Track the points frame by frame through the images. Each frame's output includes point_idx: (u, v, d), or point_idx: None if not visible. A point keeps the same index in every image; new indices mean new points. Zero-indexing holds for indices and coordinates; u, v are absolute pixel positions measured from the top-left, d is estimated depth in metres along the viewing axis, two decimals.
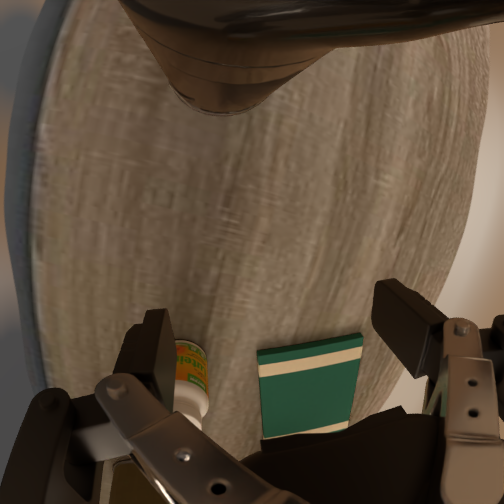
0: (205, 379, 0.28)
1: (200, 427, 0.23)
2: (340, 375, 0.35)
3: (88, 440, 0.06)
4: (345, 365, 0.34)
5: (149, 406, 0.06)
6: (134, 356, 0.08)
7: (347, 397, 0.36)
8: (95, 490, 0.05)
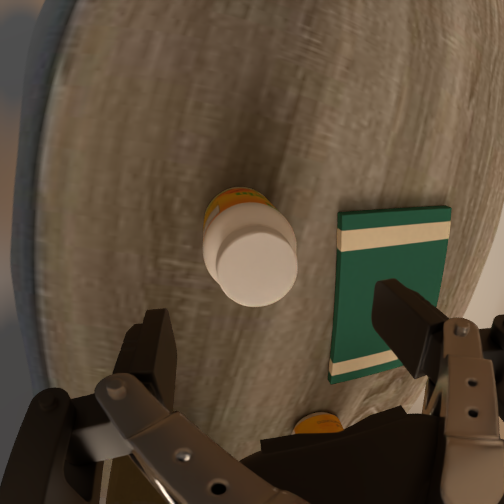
0: None
1: (296, 270, 0.16)
2: (428, 262, 0.27)
3: (88, 440, 0.06)
4: (434, 246, 0.27)
5: (149, 406, 0.06)
6: (134, 356, 0.08)
7: (432, 299, 0.29)
8: (94, 490, 0.05)
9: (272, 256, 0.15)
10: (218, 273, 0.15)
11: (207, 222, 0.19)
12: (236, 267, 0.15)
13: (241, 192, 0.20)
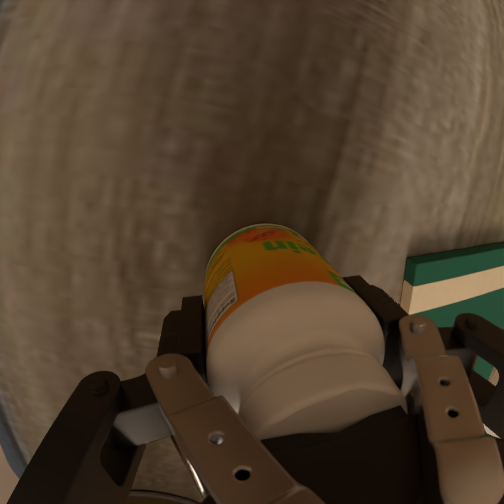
0: None
1: None
2: (499, 312, 0.18)
3: (132, 426, 0.07)
4: None
5: (204, 381, 0.07)
6: (179, 338, 0.09)
7: None
8: (129, 475, 0.06)
9: None
10: None
11: (212, 308, 0.10)
12: None
13: (273, 242, 0.11)
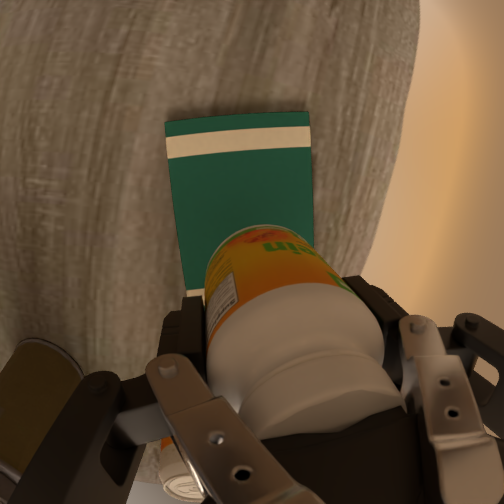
0: None
1: None
2: (285, 172, 0.26)
3: (132, 426, 0.07)
4: (289, 154, 0.26)
5: (204, 381, 0.07)
6: (179, 338, 0.09)
7: (303, 221, 0.28)
8: (129, 475, 0.06)
9: None
10: None
11: (212, 309, 0.10)
12: None
13: (273, 243, 0.11)
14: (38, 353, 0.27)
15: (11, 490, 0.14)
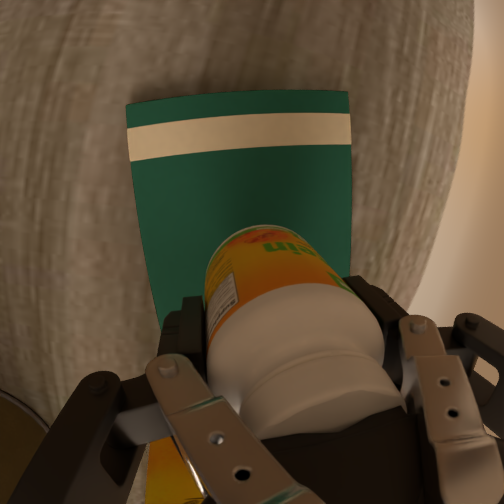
0: None
1: None
2: (313, 183, 0.17)
3: (132, 426, 0.07)
4: (320, 156, 0.16)
5: (204, 381, 0.07)
6: (179, 338, 0.09)
7: (337, 256, 0.19)
8: (129, 475, 0.06)
9: None
10: None
11: (212, 310, 0.10)
12: None
13: (274, 243, 0.11)
14: None
15: None
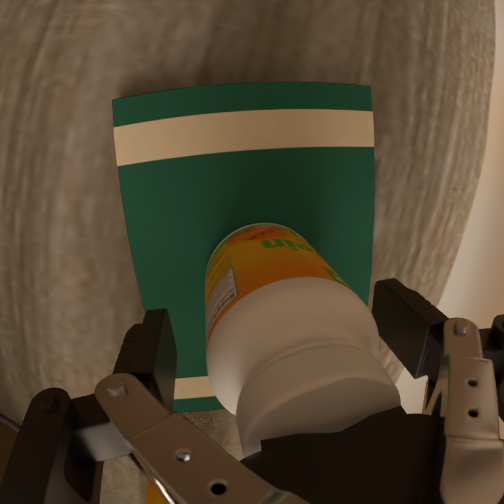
0: None
1: None
2: (331, 192, 0.14)
3: (88, 440, 0.06)
4: (339, 160, 0.14)
5: (149, 406, 0.06)
6: (134, 356, 0.08)
7: (355, 274, 0.16)
8: (94, 490, 0.05)
9: (358, 412, 0.06)
10: (245, 448, 0.06)
11: (213, 304, 0.10)
12: None
13: (272, 240, 0.12)
14: None
15: None
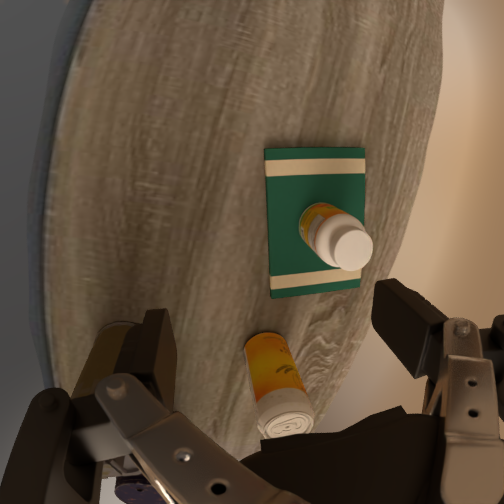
0: None
1: (371, 251, 0.28)
2: (347, 191, 0.36)
3: (88, 440, 0.06)
4: (351, 178, 0.35)
5: (149, 406, 0.06)
6: (134, 356, 0.08)
7: None
8: (94, 490, 0.05)
9: (361, 243, 0.28)
10: (335, 251, 0.27)
11: (314, 224, 0.31)
12: (344, 248, 0.27)
13: (329, 206, 0.33)
14: None
15: None
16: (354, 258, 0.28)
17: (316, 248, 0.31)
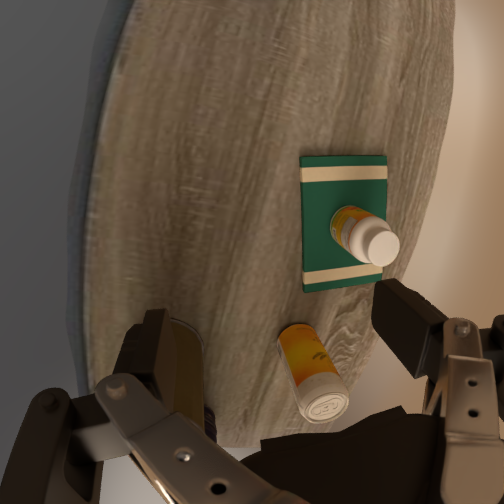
0: None
1: (398, 249, 0.31)
2: (371, 195, 0.39)
3: (88, 440, 0.06)
4: (375, 183, 0.39)
5: (149, 406, 0.06)
6: (134, 356, 0.08)
7: None
8: (94, 490, 0.05)
9: (390, 242, 0.31)
10: (368, 249, 0.31)
11: (347, 225, 0.35)
12: (376, 247, 0.31)
13: (358, 209, 0.36)
14: (173, 329, 0.40)
15: None
16: (384, 255, 0.31)
17: (350, 247, 0.34)
